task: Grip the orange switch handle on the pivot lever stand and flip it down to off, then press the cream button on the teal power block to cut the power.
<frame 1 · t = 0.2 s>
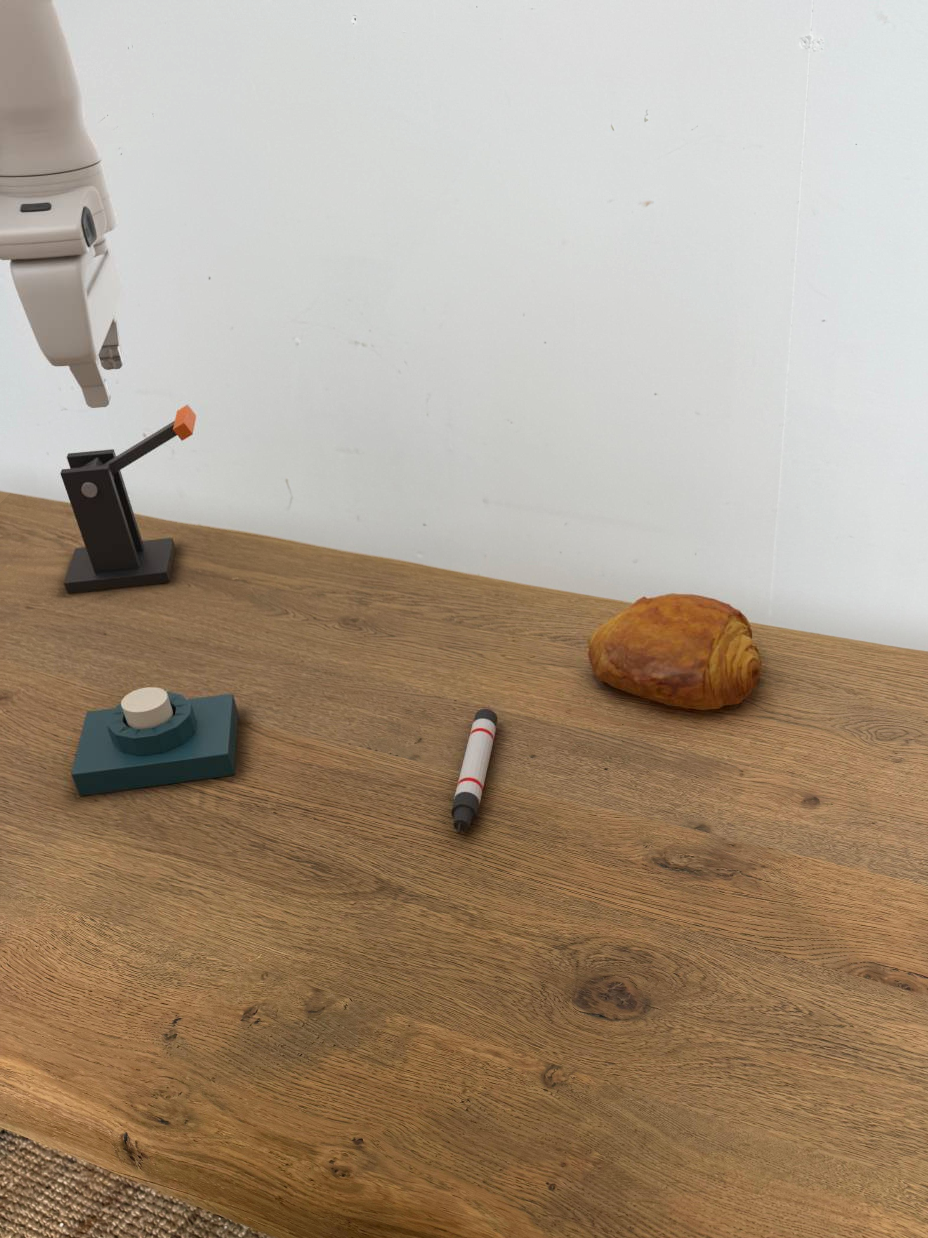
hand: (107, 385, 101), 22 cm above the table, tool pointing down, fingers open, 8 cm apart
lever switch: (135, 452, 116), point 12 cm above the table, hinge at 25.0°
marker: (474, 784, 94), on the table
pivot lever stand: (123, 570, 123), on the table
power button: (147, 708, 95), point 5 cm above the table, slide at 0.2 cm
croissant: (681, 675, 106), on the table
power block: (162, 753, 98), on the table
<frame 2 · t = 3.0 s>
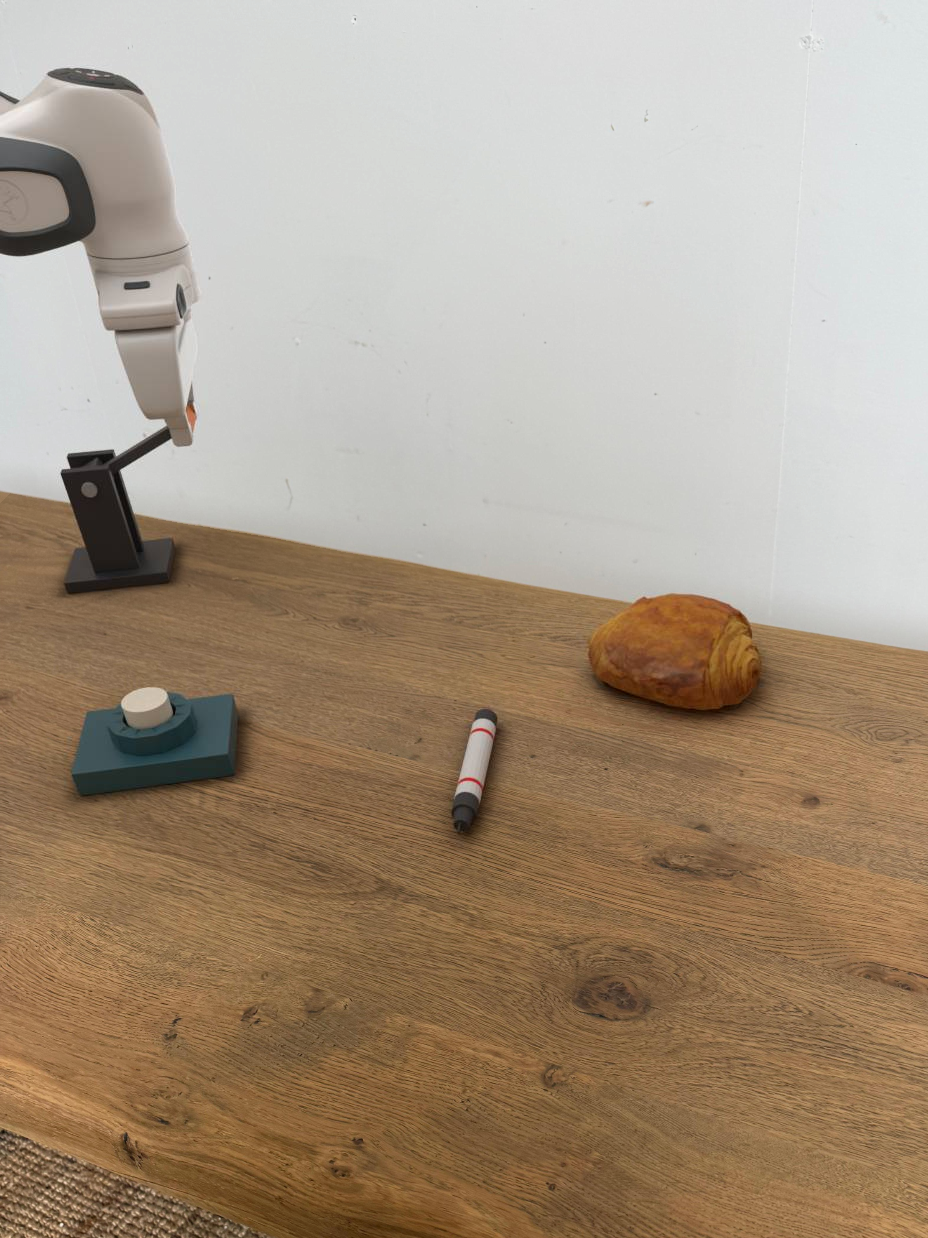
hand: (186, 431, 116), 14 cm above the table, tool pointing down, fingers closed on lever switch, 5 cm apart
lever switch: (135, 452, 116), point 12 cm above the table, hinge at 25.0°, touching gripper
everything else where it was.
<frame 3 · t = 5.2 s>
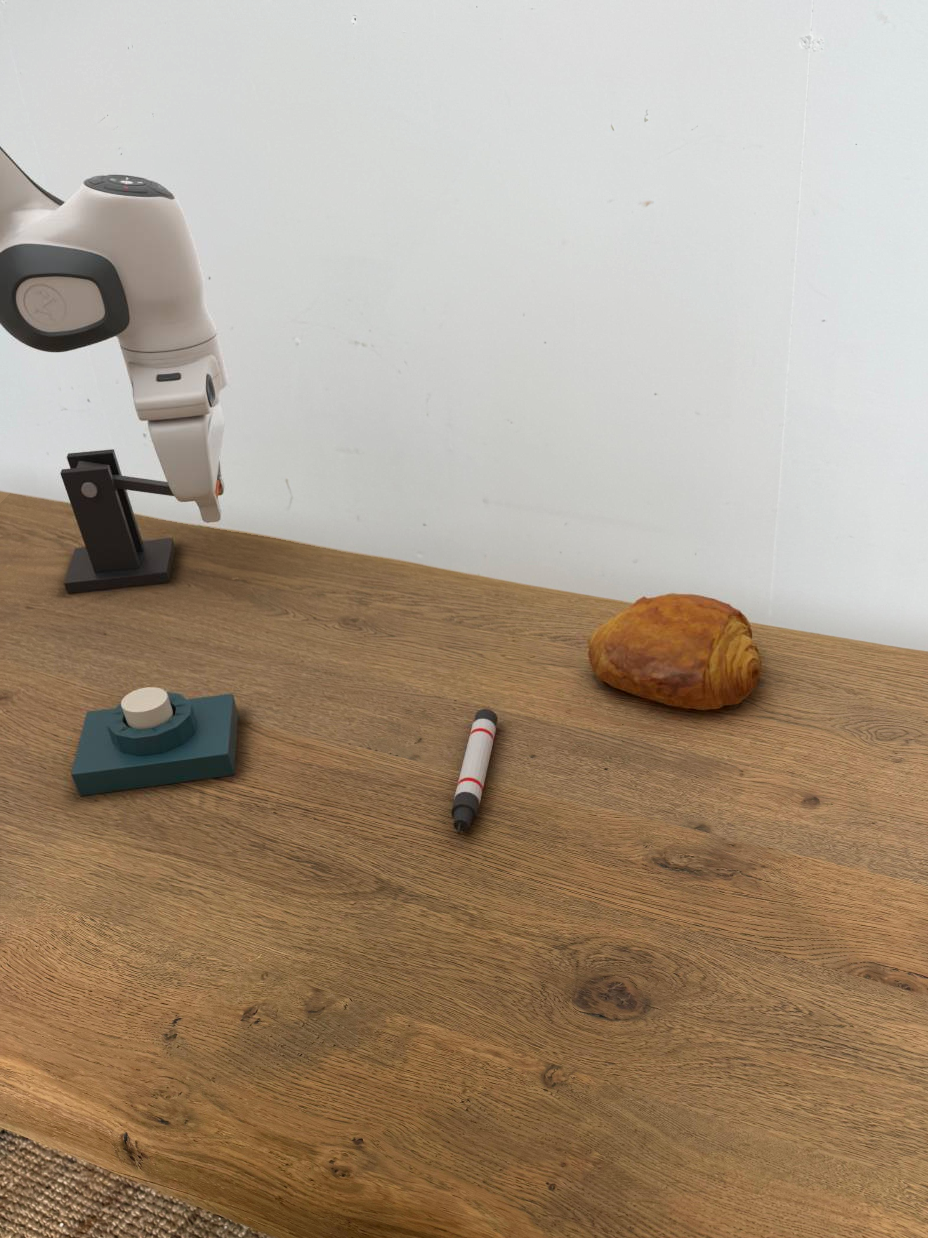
hand: (214, 506, 121), 6 cm above the table, tool pointing down, fingers closed on lever switch, 5 cm apart
lever switch: (148, 486, 118), point 9 cm above the table, hinge at -15.0°, touching gripper
everything else where it was.
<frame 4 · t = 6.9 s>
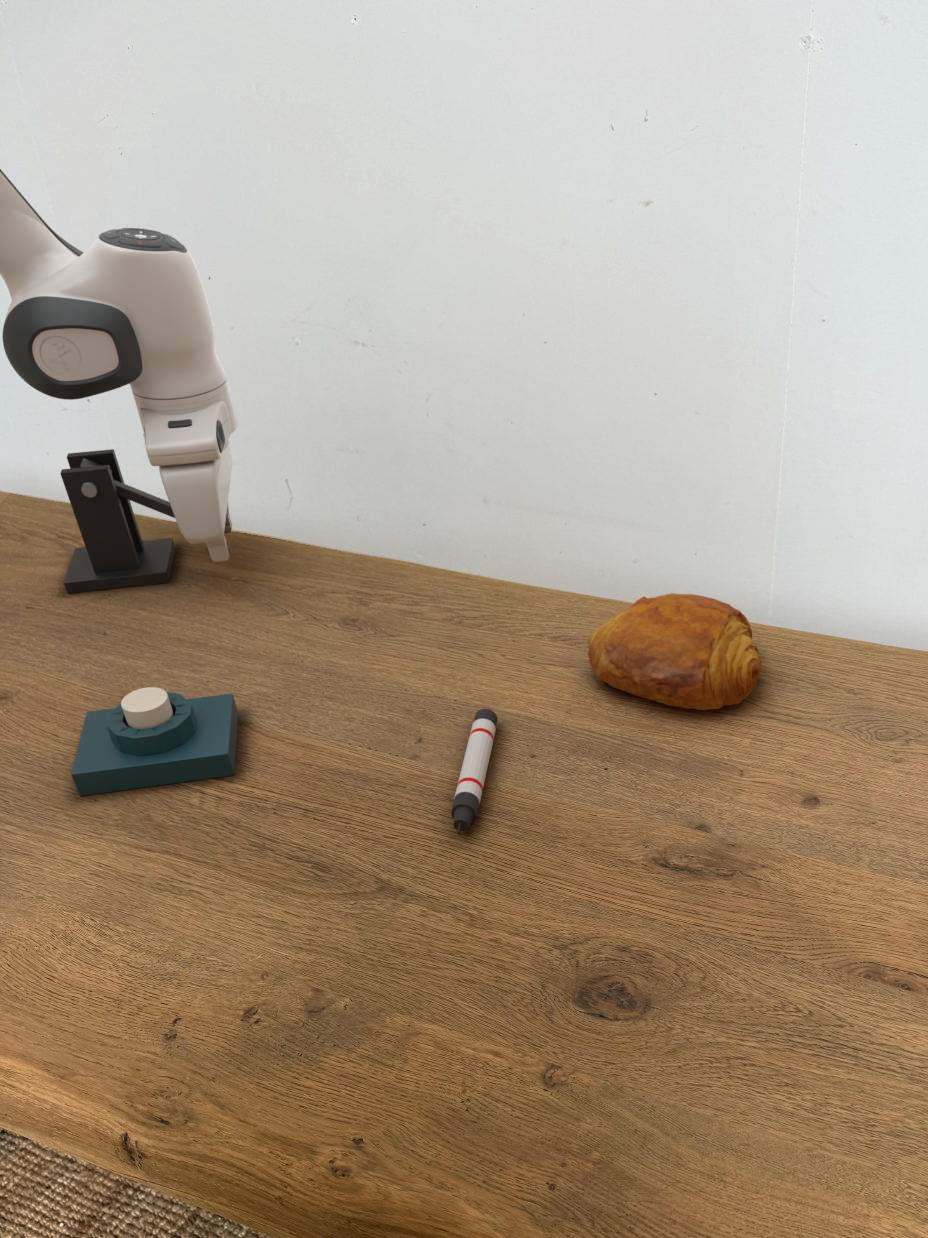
hand: (222, 544, 124), 2 cm above the table, tool pointing down, fingers closed on lever switch, 5 cm apart
lever switch: (146, 499, 119), point 7 cm above the table, hinge at -31.9°, touching gripper
everything else where it was.
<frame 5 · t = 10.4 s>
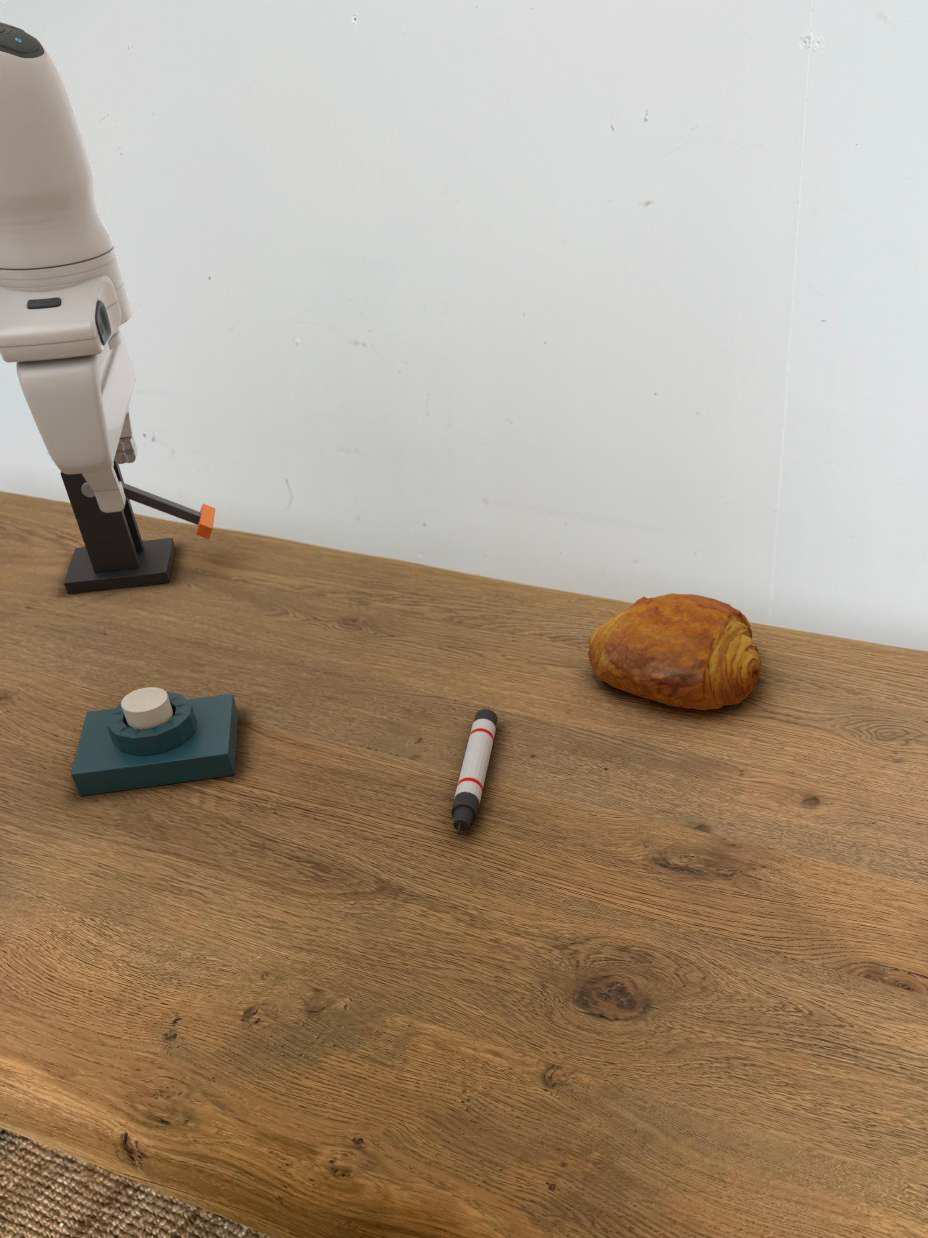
hand: (121, 483, 93), 19 cm above the table, tool pointing down, fingers open, 8 cm apart
lever switch: (146, 498, 119), point 7 cm above the table, hinge at -30.6°
everything else where it was.
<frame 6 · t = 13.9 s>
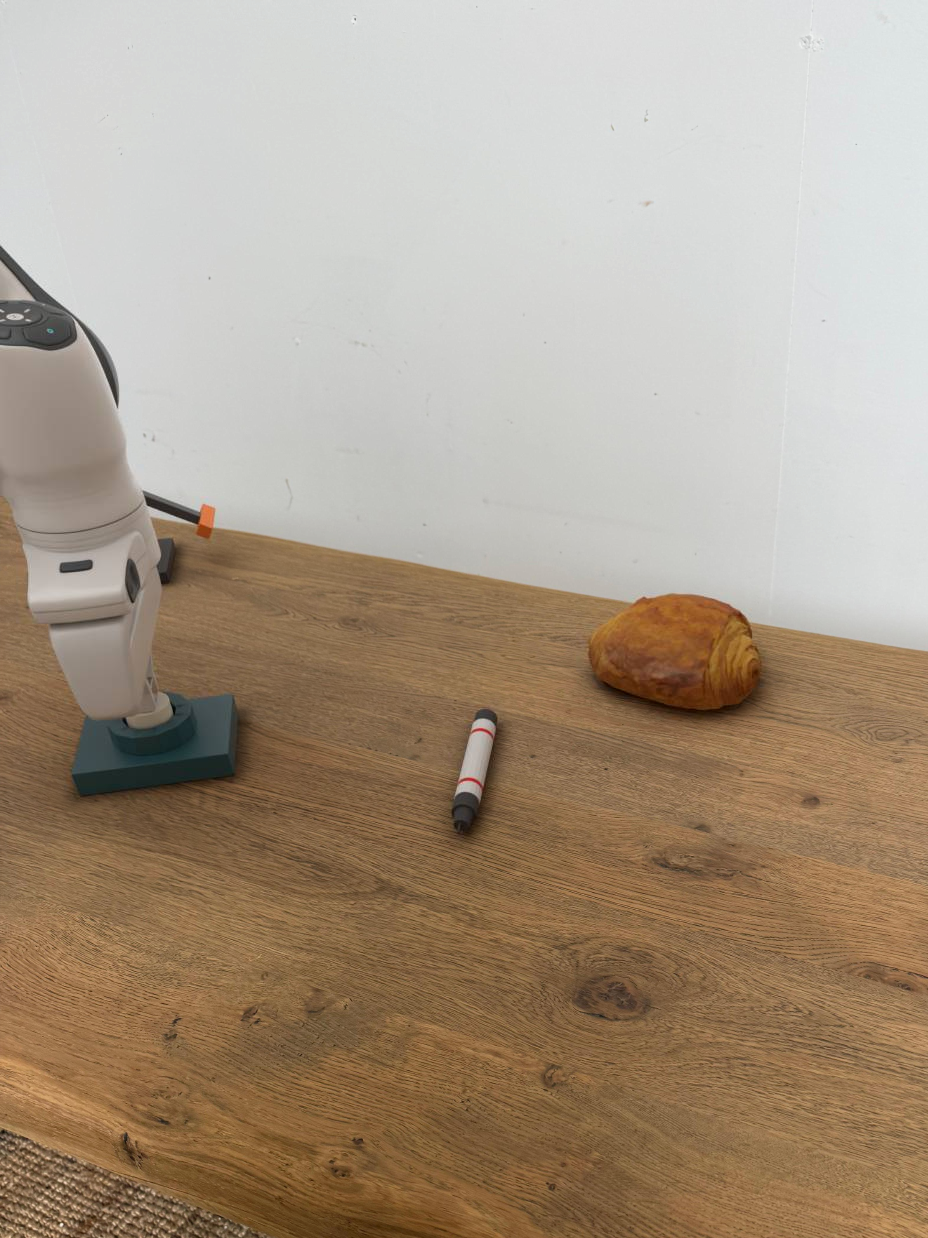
hand: (146, 702, 95), 5 cm above the table, tool pointing down, fingers closed, pressing on power button
power button: (148, 712, 95), point 4 cm above the table, slide at -0.2 cm, touching gripper
everything else where it was.
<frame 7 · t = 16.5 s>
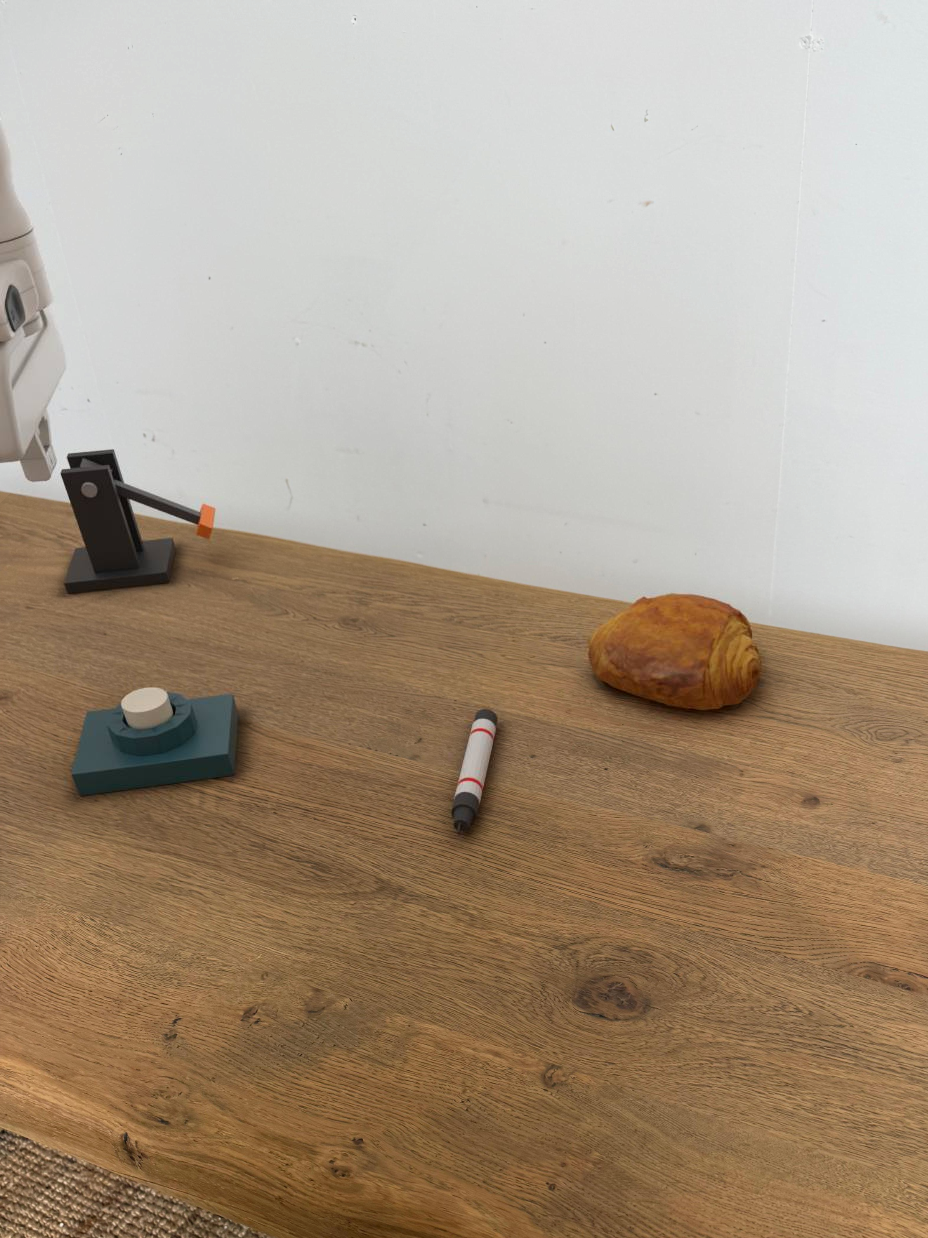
hand: (43, 473, 90), 21 cm above the table, tool pointing down, fingers closed
power button: (147, 708, 95), point 5 cm above the table, slide at 0.1 cm
everything else where it was.
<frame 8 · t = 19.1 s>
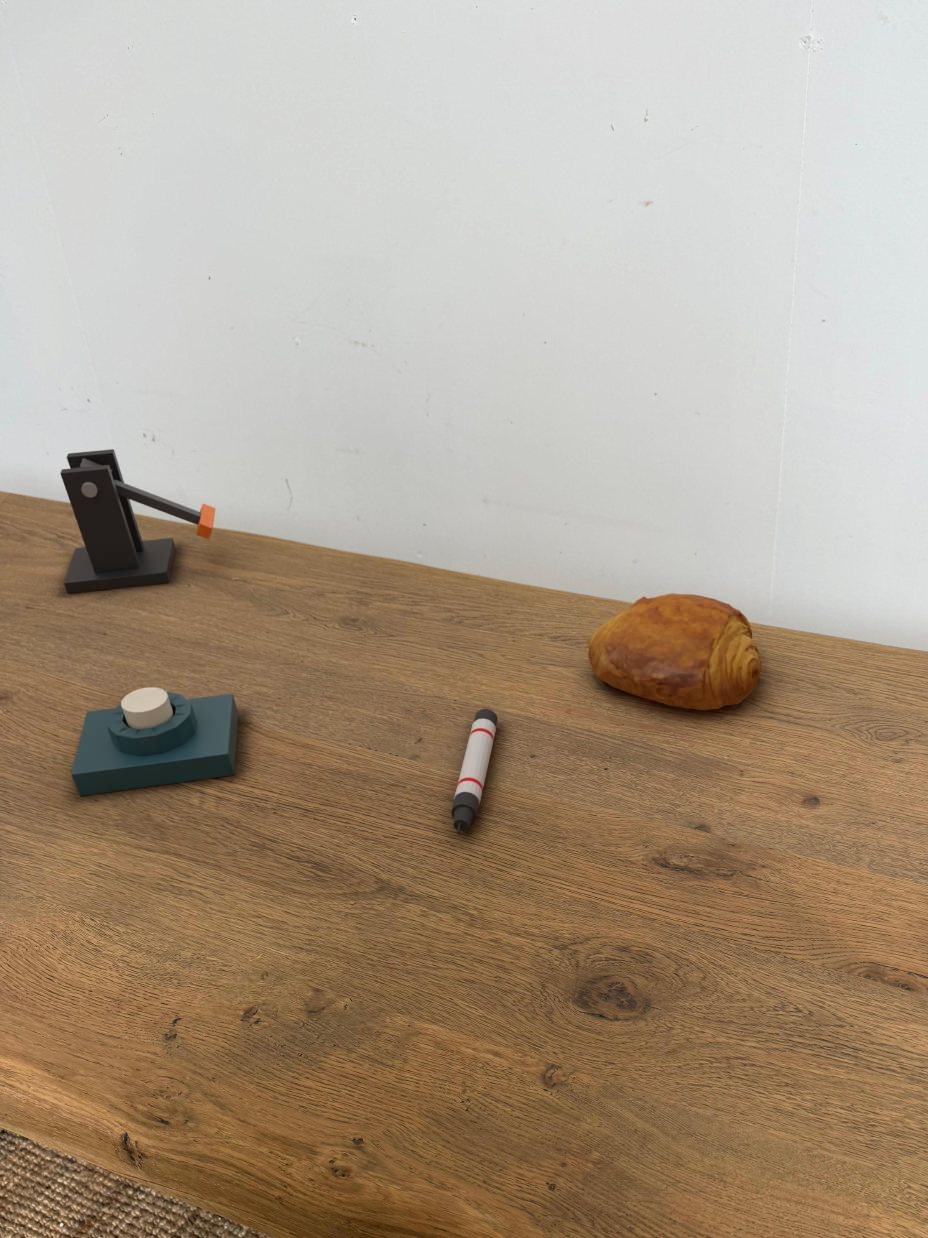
nothing on the table moved.
at the end: lever switch at -31° (first picture: +25°); power button pushed in 1.0 cm at the most during the clip, back to where it started at the end; power button slide at 0.1 cm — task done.
